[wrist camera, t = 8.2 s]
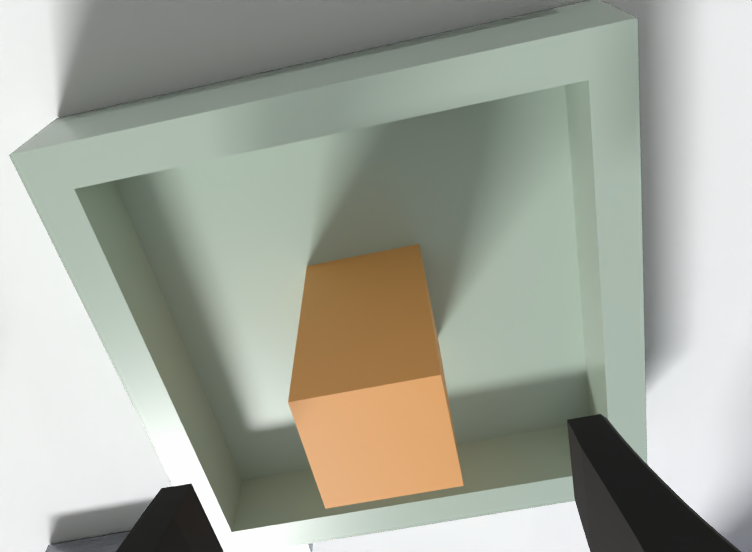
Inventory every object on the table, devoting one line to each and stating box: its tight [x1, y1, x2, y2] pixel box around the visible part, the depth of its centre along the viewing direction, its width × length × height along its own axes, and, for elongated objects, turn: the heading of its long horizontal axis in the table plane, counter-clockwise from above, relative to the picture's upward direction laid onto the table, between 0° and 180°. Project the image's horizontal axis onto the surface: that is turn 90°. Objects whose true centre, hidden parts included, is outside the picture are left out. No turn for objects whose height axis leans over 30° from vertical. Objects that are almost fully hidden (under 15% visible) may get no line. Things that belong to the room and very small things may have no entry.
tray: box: [9, 0, 647, 552], centre depth 18 cm, size 13×13×3 cm
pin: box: [288, 244, 464, 509], centre depth 16 cm, size 3×3×6 cm
